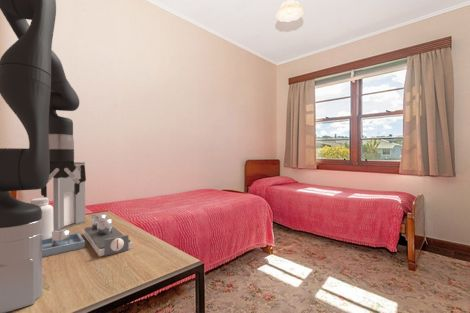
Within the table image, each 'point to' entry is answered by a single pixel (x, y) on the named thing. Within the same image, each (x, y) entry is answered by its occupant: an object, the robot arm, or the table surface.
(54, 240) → the cylinder
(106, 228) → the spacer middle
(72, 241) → the tray
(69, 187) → the cabinet
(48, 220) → the pill bottle
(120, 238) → the scale
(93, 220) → the cylinder
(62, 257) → the table surface
